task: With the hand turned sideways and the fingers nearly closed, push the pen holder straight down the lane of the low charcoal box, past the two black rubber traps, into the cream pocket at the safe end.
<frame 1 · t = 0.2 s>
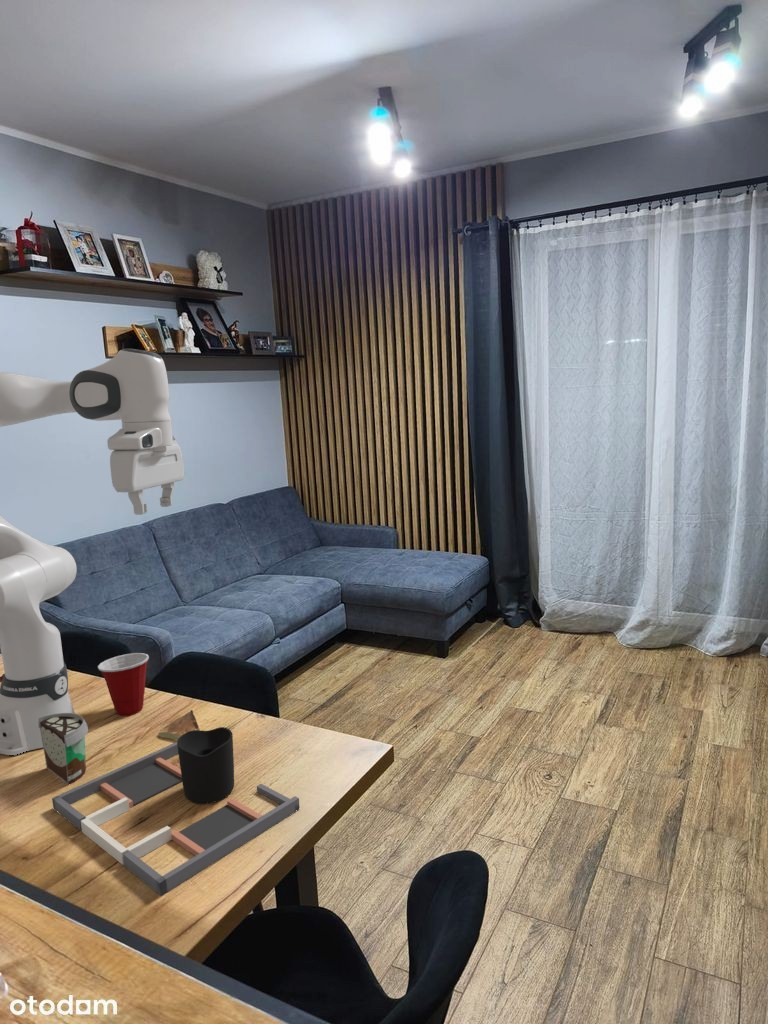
hand: (154, 510, 132), 48 cm above the table, tool pointing down, fingers open, 8 cm apart
plastic cup: (128, 710, 157), on the table
pen holder: (209, 791, 123), on the table
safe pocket: (139, 827, 113), on the table
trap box: (174, 808, 118), on the table
shard: (178, 732, 147), on the table
food container: (73, 770, 132), on the table
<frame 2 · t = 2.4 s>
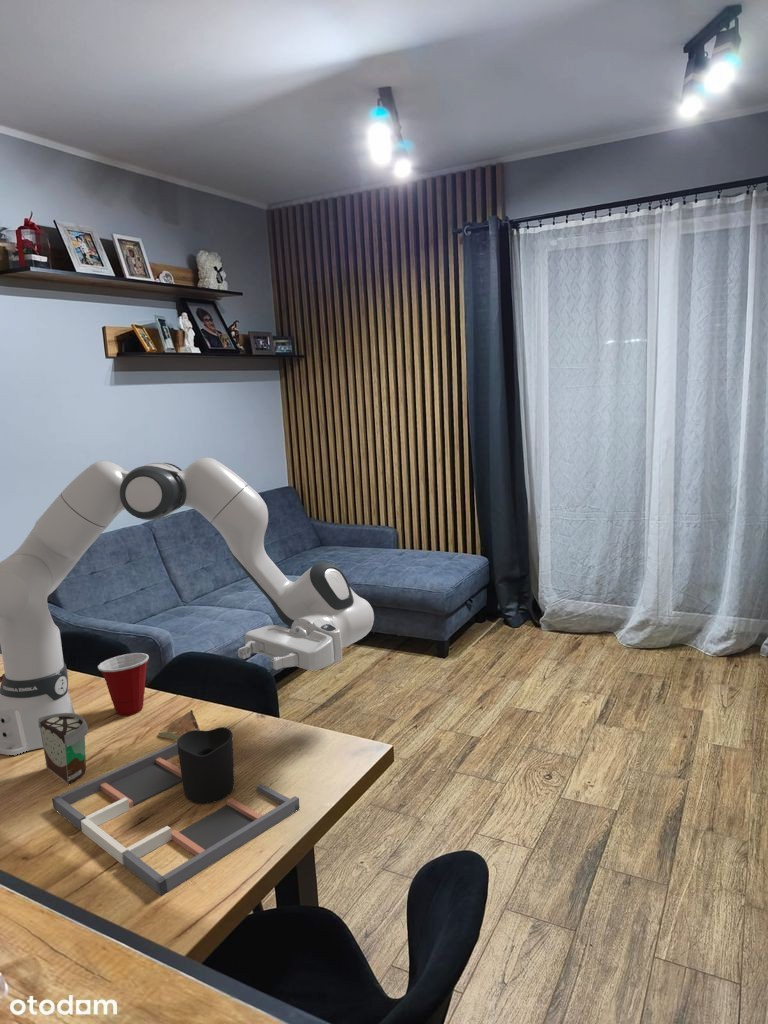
hand: (255, 659, 128), 21 cm above the table, tool horizontal, fingers open, 8 cm apart
nothing on the table moved.
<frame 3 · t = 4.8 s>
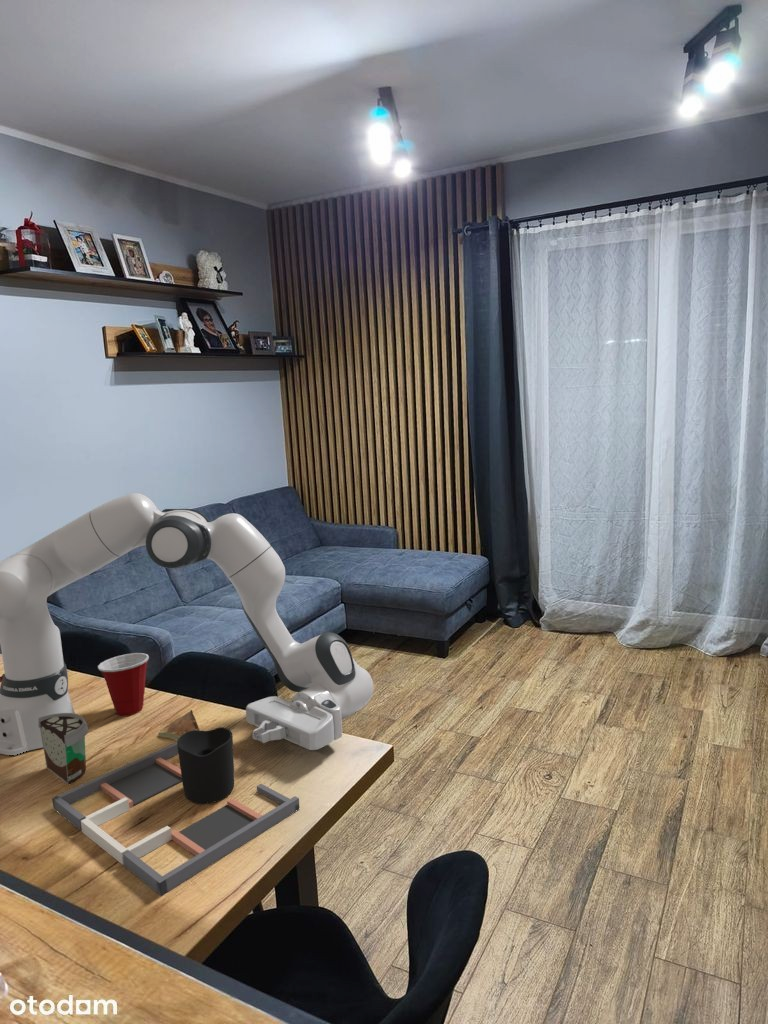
hand: (257, 737, 131), 5 cm above the table, tool horizontal, fingers closed
nothing on the table moved.
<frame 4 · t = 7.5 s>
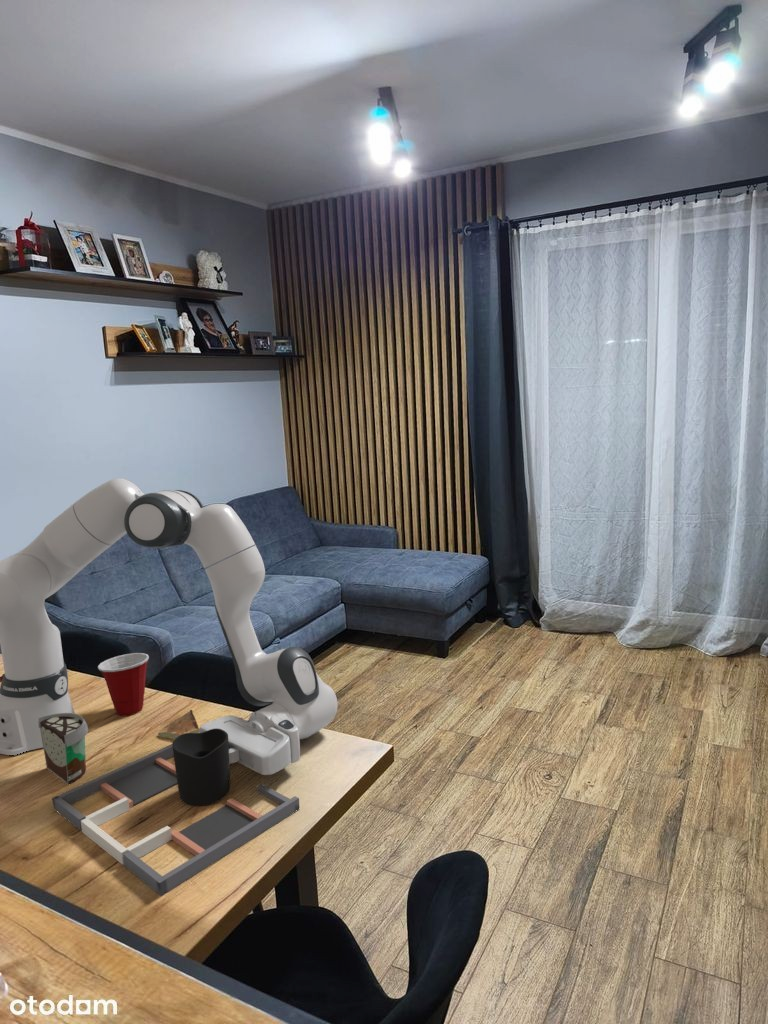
hand: (207, 761, 122), 5 cm above the table, tool horizontal, fingers closed
pen holder: (205, 794, 122), on the table, touching gripper
everything else where it was.
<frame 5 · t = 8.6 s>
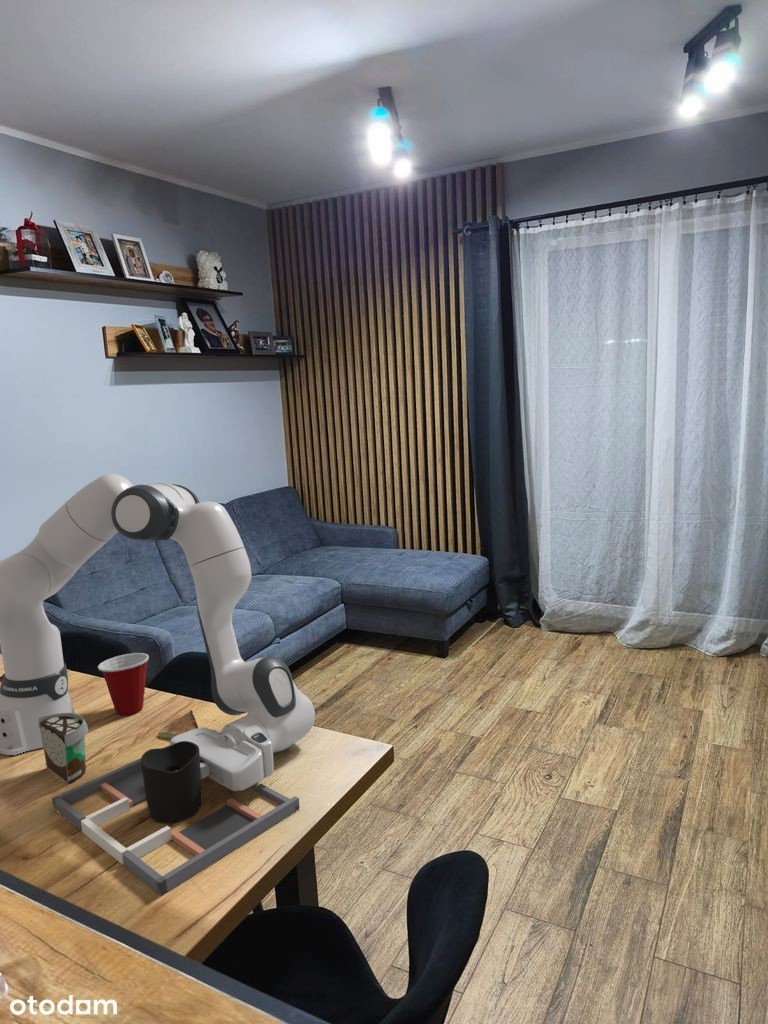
hand: (176, 776, 118), 6 cm above the table, tool horizontal, fingers closed, pressing on pen holder
pen holder: (175, 810, 118), on the table, touching gripper
everything else where it was.
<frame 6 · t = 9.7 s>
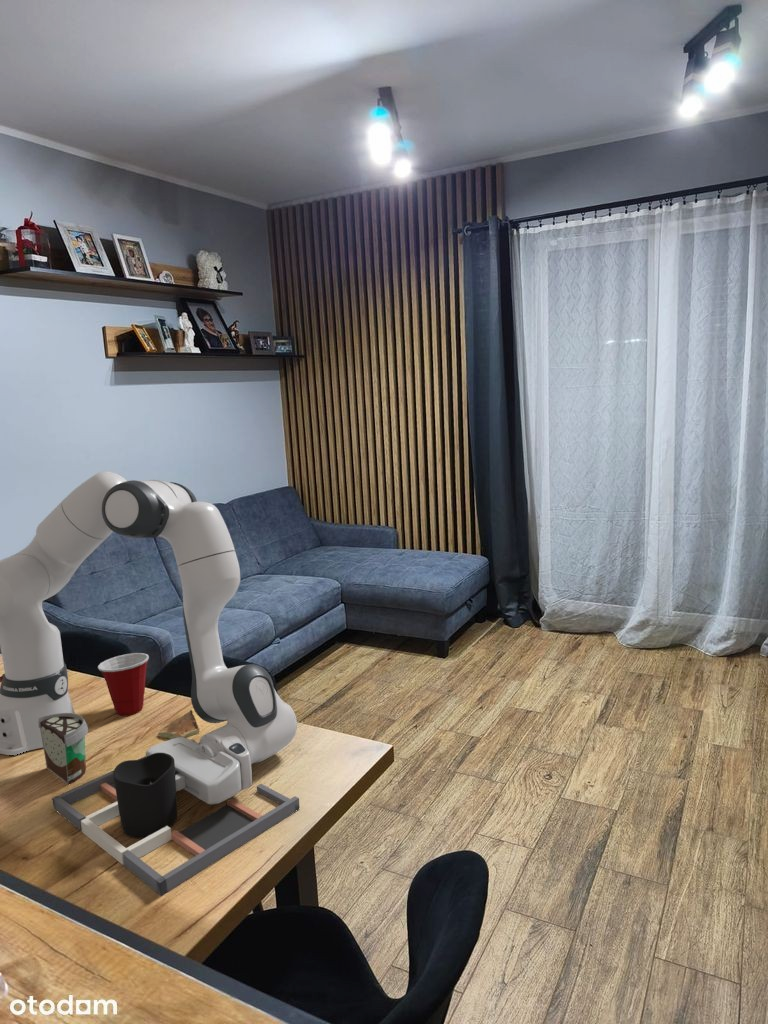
hand: (150, 789, 114), 6 cm above the table, tool horizontal, fingers closed, pressing on pen holder
pen holder: (150, 824, 114), on the table, touching gripper
everything else where it was.
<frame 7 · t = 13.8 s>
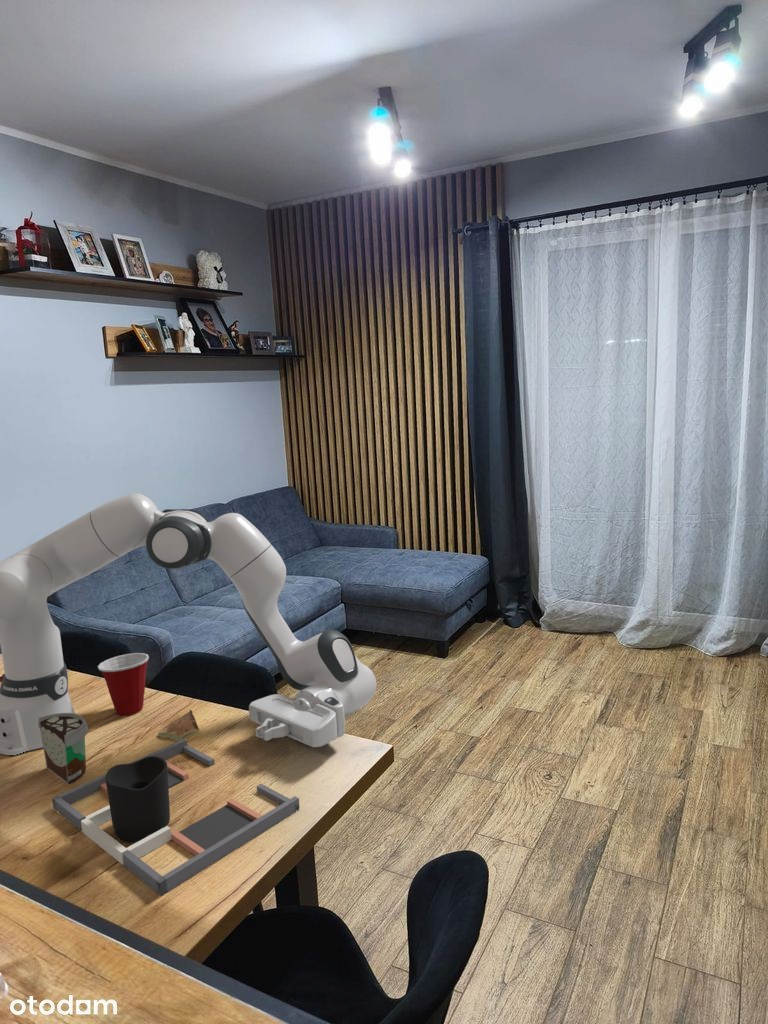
hand: (260, 735, 131), 6 cm above the table, tool horizontal, fingers closed
pen holder: (142, 828, 113), on the table
everything else where it was.
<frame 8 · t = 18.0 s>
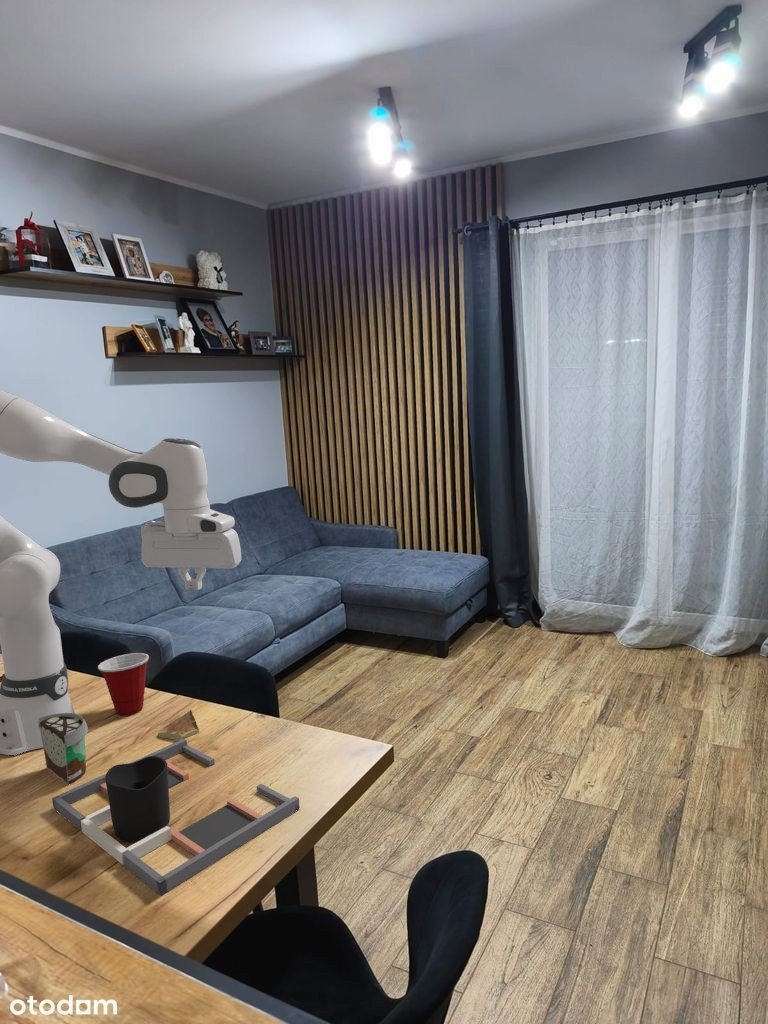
hand: (193, 588, 139), 31 cm above the table, tool pointing down, fingers closed
nothing on the table moved.
at the end: pen holder 0.4 cm from the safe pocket (horizontally); pen holder tilted 0° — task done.
